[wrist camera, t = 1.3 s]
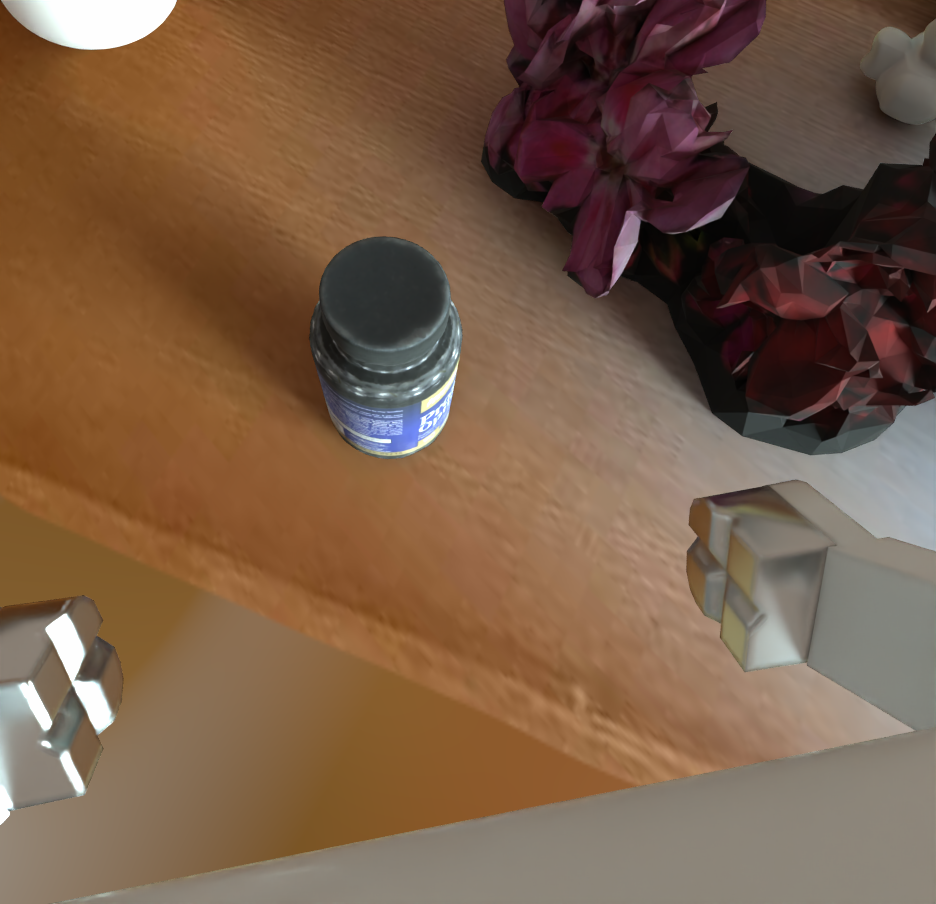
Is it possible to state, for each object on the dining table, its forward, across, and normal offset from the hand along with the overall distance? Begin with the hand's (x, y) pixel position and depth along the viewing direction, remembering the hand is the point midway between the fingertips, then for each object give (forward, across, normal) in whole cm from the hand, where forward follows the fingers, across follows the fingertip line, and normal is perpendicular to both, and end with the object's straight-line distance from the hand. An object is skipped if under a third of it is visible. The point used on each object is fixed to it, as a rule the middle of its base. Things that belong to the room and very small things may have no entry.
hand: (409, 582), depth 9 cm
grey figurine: (+37, -34, -4) cm, 51 cm away
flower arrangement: (+30, -18, +3) cm, 35 cm away
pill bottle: (+25, 0, +7) cm, 26 cm away
